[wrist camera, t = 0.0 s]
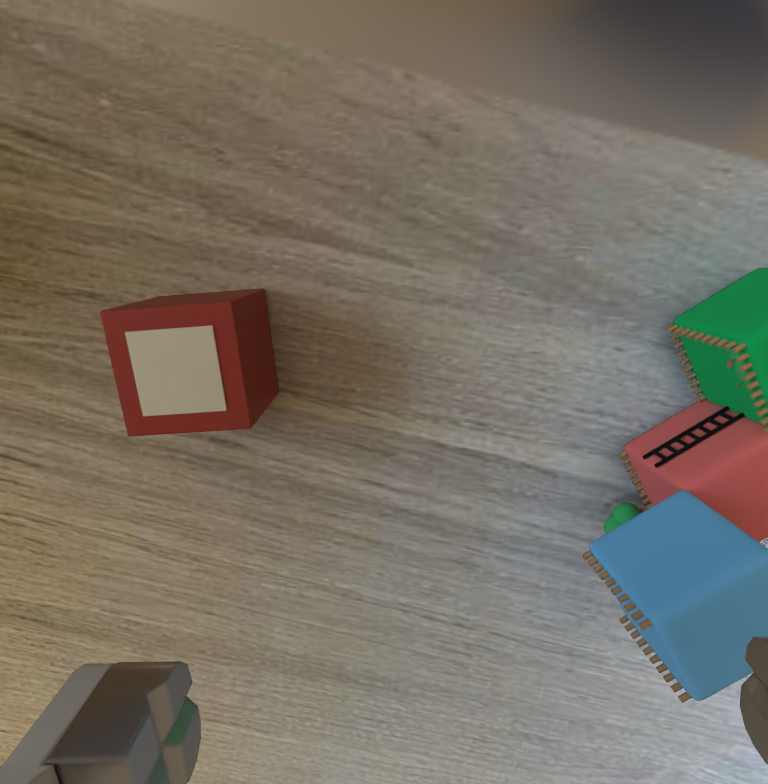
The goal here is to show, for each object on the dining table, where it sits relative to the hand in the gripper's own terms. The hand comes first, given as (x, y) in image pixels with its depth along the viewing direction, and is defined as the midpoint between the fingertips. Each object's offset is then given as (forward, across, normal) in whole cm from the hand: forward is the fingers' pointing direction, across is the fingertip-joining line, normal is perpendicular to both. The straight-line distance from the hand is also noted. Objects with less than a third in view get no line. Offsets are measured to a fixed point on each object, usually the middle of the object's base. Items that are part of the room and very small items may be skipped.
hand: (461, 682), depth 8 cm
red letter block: (+16, +8, -2) cm, 18 cm away
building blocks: (+10, -14, +3) cm, 17 cm away
